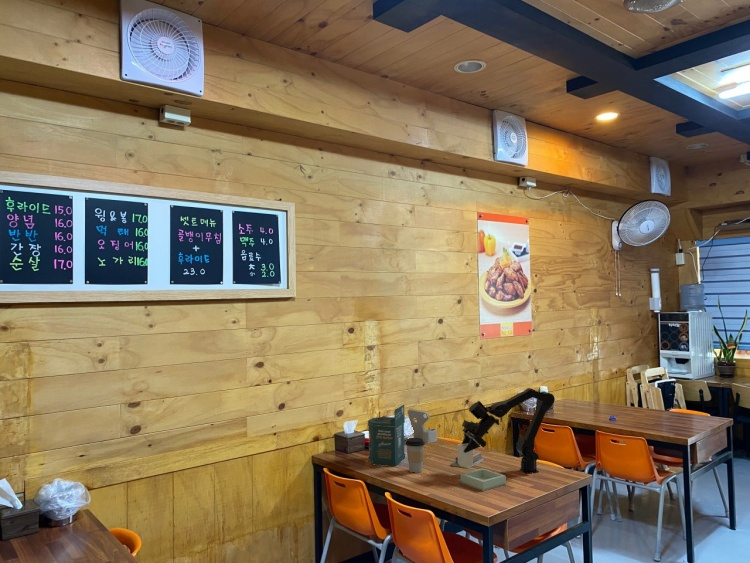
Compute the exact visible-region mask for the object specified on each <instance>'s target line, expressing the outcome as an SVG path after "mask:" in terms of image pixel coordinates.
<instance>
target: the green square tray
mask: <svg viewBox="0 0 750 563" xmlns="http://www.w3.org/2000/svg"><path fill="white" fill-rule="evenodd" d="M459 475H460V484H462V485H466V486H468V487H471V488H474V489H476V490H479V491H481V492H485V491H489V490H492V489H493V490H494V489H496V488H500V487H503V486H506V485H507V480H506V479H507V478H506V475H504V474H502V473H499V472H495V471H492V470H488V469H485V468H484V467H483V468H479V469H474V470H471V471H466V472H463V473H460V474H459Z"/></svg>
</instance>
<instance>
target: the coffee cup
mask: <svg viewBox="0 0 750 563" xmlns="http://www.w3.org/2000/svg"><path fill="white" fill-rule="evenodd" d="M404 445H406V454H407V456H406V457H407V462H408V467H409V468H408V469H409V470H408V471H409V472H410V473H412V472H415V473H414V474H419V473H421V472H422V471H423V465H424V464H423V462H424V453H425V449H424V448H425V445H426V443H425V442H424V441H423V439H421V438H409V439H406V441H405V442H404ZM418 472H419V473H418Z"/></svg>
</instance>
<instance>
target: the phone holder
mask: <svg viewBox="0 0 750 563" xmlns="http://www.w3.org/2000/svg"><path fill="white" fill-rule="evenodd" d="M407 416H408V418H409V422H410V421H411V423H410V425H412V426H411V428H412V427H413V430H414V433H413V436H414V438H421V439H423V441H424V442H425V444H430V442H431V443H434V442H438V435H437V434H438V433H437V431H438V430H437V429H436V428H430V429H425V423H426V422H428V421H429V420H430V419H431V417H430V416H431V415H430V413H429V412H428V411H425V410H420V409H416V408H415V409H414V408H409V409H408V410H407ZM413 430H412V431H413Z"/></svg>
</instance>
